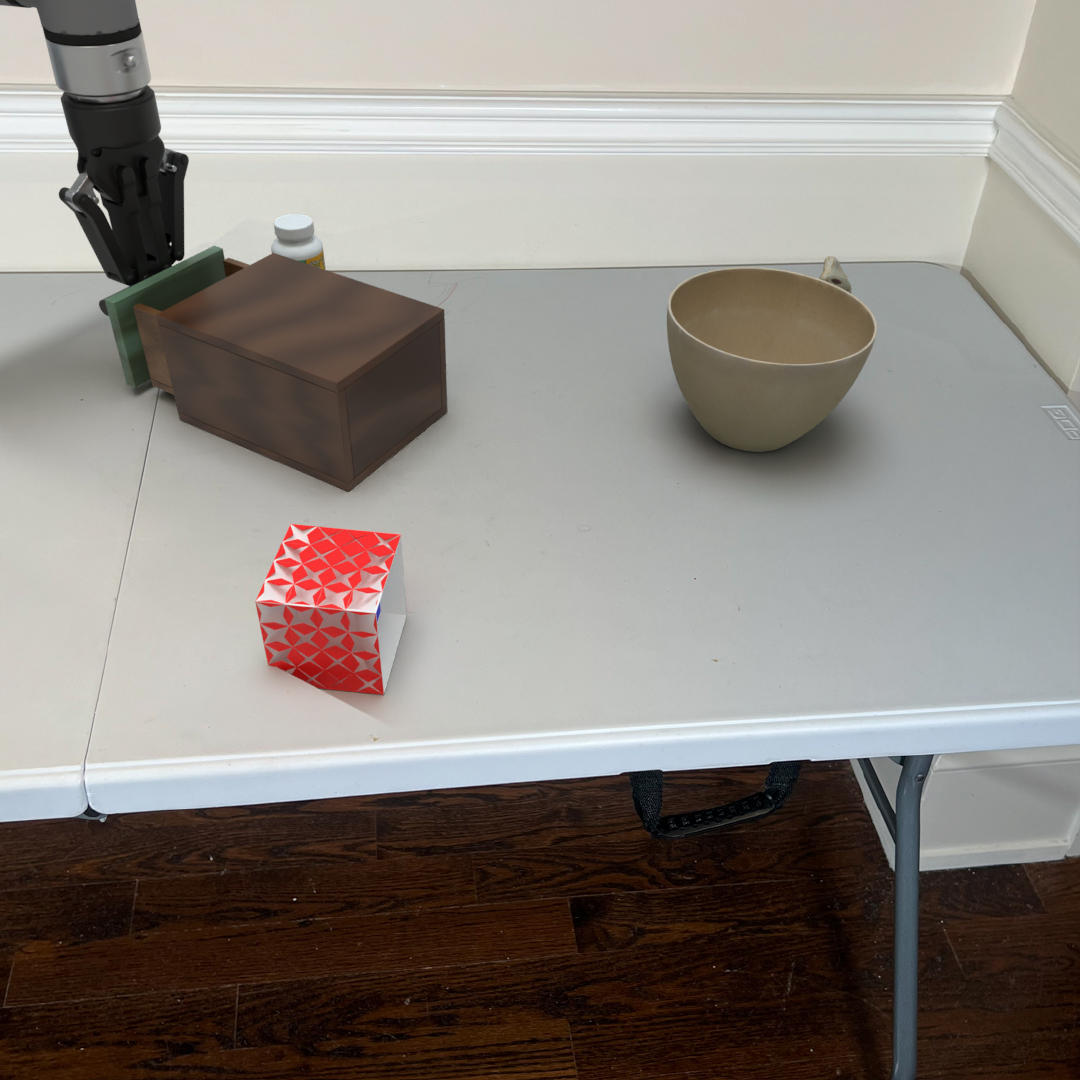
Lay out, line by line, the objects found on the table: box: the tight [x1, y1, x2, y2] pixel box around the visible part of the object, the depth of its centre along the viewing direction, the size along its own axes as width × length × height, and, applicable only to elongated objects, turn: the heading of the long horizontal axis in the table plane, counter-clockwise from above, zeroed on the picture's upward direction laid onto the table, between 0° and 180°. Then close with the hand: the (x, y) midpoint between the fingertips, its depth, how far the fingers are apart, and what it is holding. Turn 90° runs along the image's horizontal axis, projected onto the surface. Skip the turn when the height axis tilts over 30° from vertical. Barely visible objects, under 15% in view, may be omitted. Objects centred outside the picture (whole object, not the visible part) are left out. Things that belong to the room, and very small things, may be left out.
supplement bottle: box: [270, 213, 326, 270], centre depth 110 cm, size 5×5×10 cm
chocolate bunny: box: [818, 255, 852, 294], centre depth 107 cm, size 6×8×10 cm
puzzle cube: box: [254, 523, 408, 696], centre depth 72 cm, size 8×8×8 cm
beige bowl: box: [666, 266, 878, 453], centre depth 94 cm, size 18×18×12 cm
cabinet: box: [156, 252, 448, 492], centre depth 93 cm, size 20×15×11 cm
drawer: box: [98, 245, 250, 396], centre depth 97 cm, size 24×14×9 cm, turn 59°
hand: (162, 337), depth 102 cm, fingers closed
